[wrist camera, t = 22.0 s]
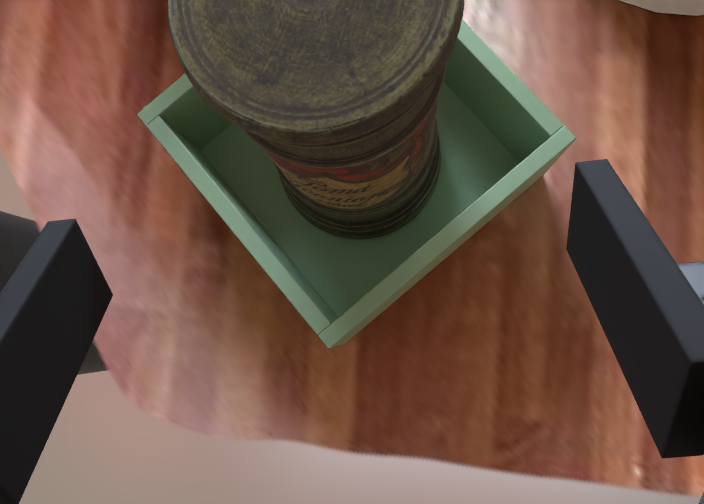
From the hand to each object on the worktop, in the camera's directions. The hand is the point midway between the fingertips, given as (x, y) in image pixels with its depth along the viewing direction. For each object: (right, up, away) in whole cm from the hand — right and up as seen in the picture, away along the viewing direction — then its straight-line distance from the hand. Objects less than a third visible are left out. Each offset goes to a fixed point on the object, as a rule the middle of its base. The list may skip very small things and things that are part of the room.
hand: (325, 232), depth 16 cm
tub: (+1, +5, +19) cm, 19 cm away
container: (+1, +5, +18) cm, 19 cm away
